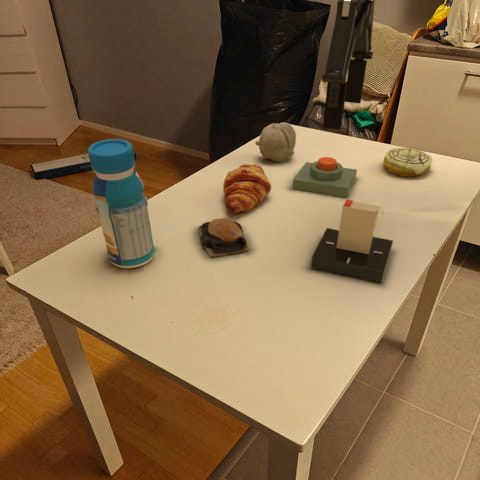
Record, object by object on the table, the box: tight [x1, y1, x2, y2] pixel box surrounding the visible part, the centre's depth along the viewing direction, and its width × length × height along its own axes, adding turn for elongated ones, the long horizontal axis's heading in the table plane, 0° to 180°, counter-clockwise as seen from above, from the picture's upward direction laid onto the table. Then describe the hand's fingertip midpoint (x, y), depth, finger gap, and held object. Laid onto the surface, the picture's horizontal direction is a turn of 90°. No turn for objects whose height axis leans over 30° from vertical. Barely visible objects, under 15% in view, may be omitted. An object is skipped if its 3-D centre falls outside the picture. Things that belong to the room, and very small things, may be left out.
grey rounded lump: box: [254, 122, 297, 163], centre depth 111 cm, size 9×8×10 cm
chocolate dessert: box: [197, 217, 250, 258], centre depth 86 cm, size 11×8×4 cm
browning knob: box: [337, 199, 380, 254], centre depth 77 cm, size 6×2×8 cm, turn 68°
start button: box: [317, 156, 338, 171], centre depth 101 cm, size 4×4×2 cm
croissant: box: [222, 163, 272, 214], centre depth 98 cm, size 21×10×8 cm, turn 166°
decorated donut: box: [383, 147, 433, 177], centre depth 108 cm, size 10×11×4 cm
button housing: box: [292, 160, 358, 198], centre depth 103 cm, size 12×10×4 cm
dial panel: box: [310, 227, 394, 284], centre depth 80 cm, size 12×10×3 cm
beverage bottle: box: [87, 138, 156, 269], centre depth 76 cm, size 8×8×20 cm
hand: (342, 114), depth 76 cm, fingers open, 13 cm apart
